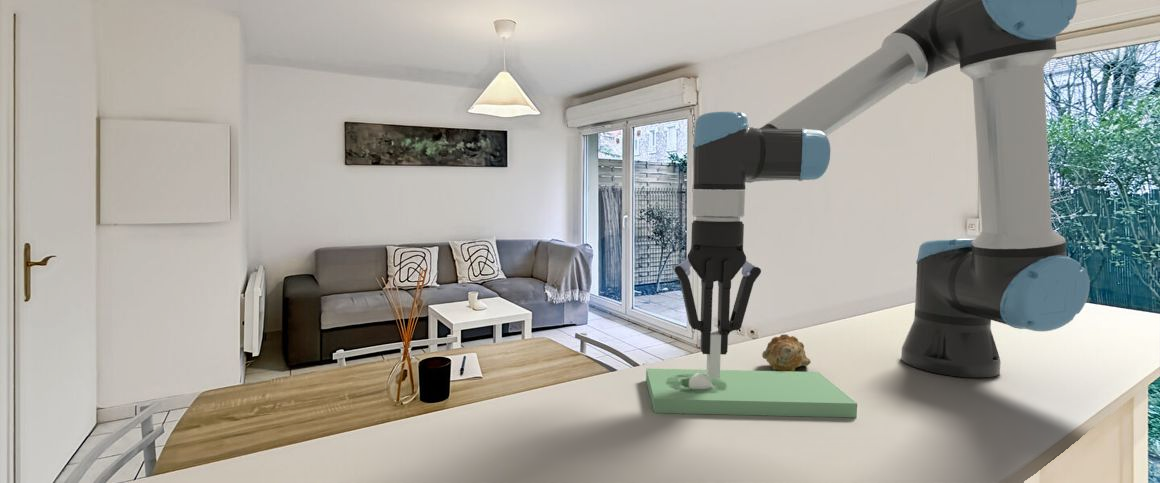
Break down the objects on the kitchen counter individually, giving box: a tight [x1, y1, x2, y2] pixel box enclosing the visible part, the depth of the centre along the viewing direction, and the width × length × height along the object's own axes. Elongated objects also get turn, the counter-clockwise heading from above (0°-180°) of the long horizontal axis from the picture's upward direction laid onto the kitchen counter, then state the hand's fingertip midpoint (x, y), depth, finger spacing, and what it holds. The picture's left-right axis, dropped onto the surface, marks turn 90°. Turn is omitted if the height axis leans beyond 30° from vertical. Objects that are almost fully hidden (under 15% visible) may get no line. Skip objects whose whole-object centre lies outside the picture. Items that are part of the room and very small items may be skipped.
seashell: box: [761, 333, 812, 372], centre depth 100 cm, size 9×8×10 cm
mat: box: [645, 368, 858, 418], centre depth 86 cm, size 28×14×2 cm, turn 88°
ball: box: [689, 373, 713, 389], centre depth 87 cm, size 4×4×4 cm
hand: (713, 374), depth 86 cm, fingers closed
